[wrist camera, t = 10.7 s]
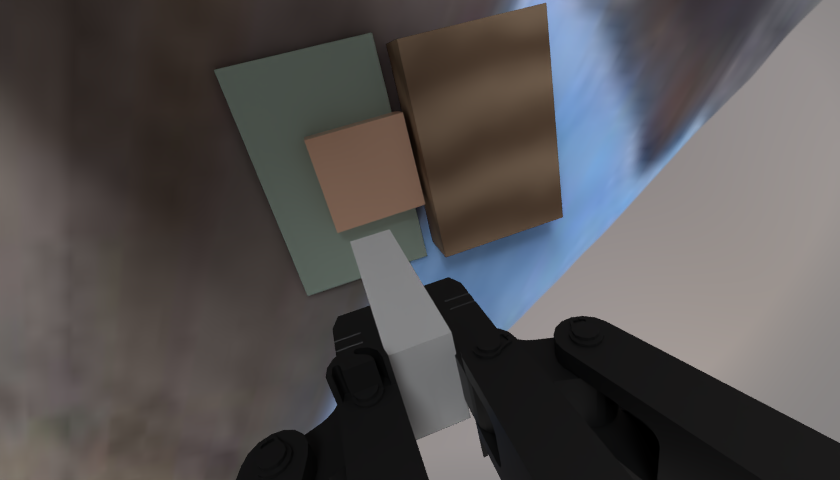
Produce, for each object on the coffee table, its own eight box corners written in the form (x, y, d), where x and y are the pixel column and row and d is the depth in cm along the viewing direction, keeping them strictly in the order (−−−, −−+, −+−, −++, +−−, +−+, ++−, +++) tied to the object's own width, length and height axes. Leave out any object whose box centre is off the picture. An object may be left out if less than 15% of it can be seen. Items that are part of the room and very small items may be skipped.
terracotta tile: (303, 137, 32) (304, 140, 30) (397, 110, 33) (402, 112, 31) (335, 225, 35) (337, 233, 33) (419, 198, 36) (425, 204, 35)
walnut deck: (385, 44, 32) (396, 39, 28) (520, 11, 33) (546, 2, 30) (432, 241, 39) (446, 257, 36) (539, 205, 41) (562, 217, 37)
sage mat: (215, 70, 29) (213, 69, 29) (370, 33, 31) (371, 32, 30) (307, 293, 37) (307, 296, 37) (425, 253, 39) (427, 255, 39)
